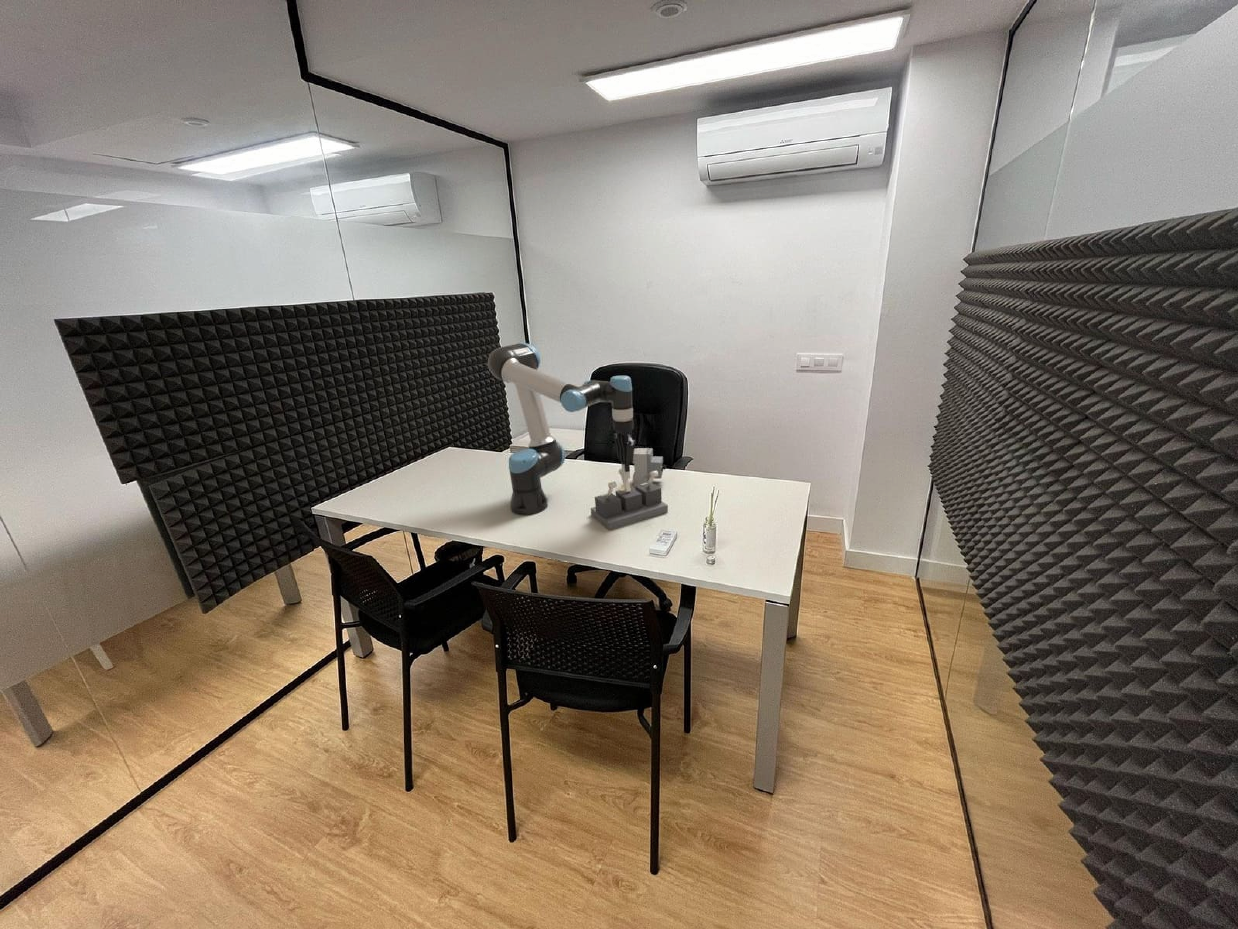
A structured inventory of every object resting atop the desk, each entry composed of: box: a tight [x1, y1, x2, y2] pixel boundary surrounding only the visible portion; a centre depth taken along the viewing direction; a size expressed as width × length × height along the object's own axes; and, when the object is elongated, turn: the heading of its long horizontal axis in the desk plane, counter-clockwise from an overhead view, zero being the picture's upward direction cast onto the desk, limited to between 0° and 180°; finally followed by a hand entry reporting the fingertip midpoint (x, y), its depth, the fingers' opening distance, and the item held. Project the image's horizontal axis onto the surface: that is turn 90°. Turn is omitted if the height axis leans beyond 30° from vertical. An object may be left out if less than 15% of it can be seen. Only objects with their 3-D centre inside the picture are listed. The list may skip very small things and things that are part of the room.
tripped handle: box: [618, 468, 631, 492], centre depth 185 cm, size 2×2×9 cm
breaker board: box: [590, 471, 669, 531], centre depth 186 cm, size 15×26×17 cm, turn 119°
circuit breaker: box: [632, 447, 667, 486], centre depth 213 cm, size 8×14×15 cm, turn 78°
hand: (626, 478), depth 184 cm, fingers closed
